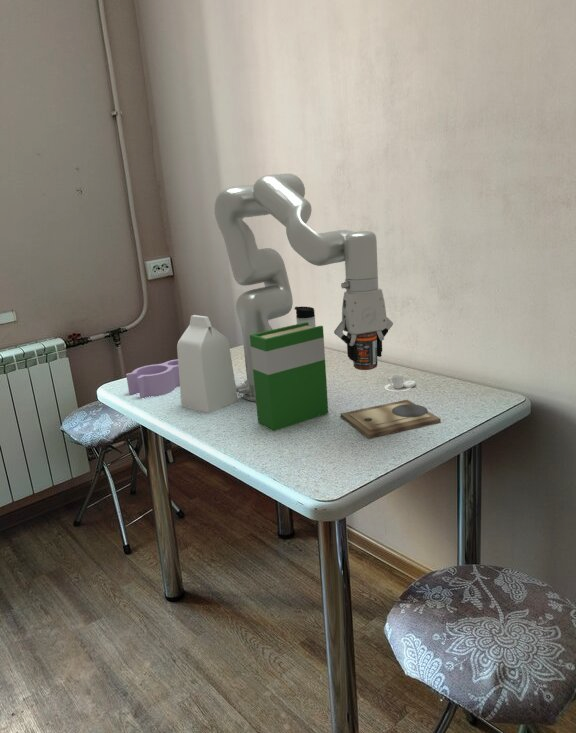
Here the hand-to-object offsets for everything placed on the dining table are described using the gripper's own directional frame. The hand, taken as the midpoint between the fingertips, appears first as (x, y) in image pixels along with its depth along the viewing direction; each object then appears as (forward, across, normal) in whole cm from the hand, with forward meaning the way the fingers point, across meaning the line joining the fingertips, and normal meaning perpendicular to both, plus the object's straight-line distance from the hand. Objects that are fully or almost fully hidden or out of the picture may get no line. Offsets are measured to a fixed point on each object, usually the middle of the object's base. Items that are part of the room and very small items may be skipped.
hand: (365, 357), depth 151 cm
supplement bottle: (+3, 0, 0) cm, 3 cm away
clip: (+18, -42, +61) cm, 76 cm away
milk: (+18, -32, +38) cm, 53 cm away
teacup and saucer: (+18, +21, +17) cm, 33 cm away
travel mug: (+18, +7, +58) cm, 61 cm away
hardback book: (+18, -15, +14) cm, 27 cm away
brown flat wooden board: (+18, +6, 0) cm, 19 cm away
